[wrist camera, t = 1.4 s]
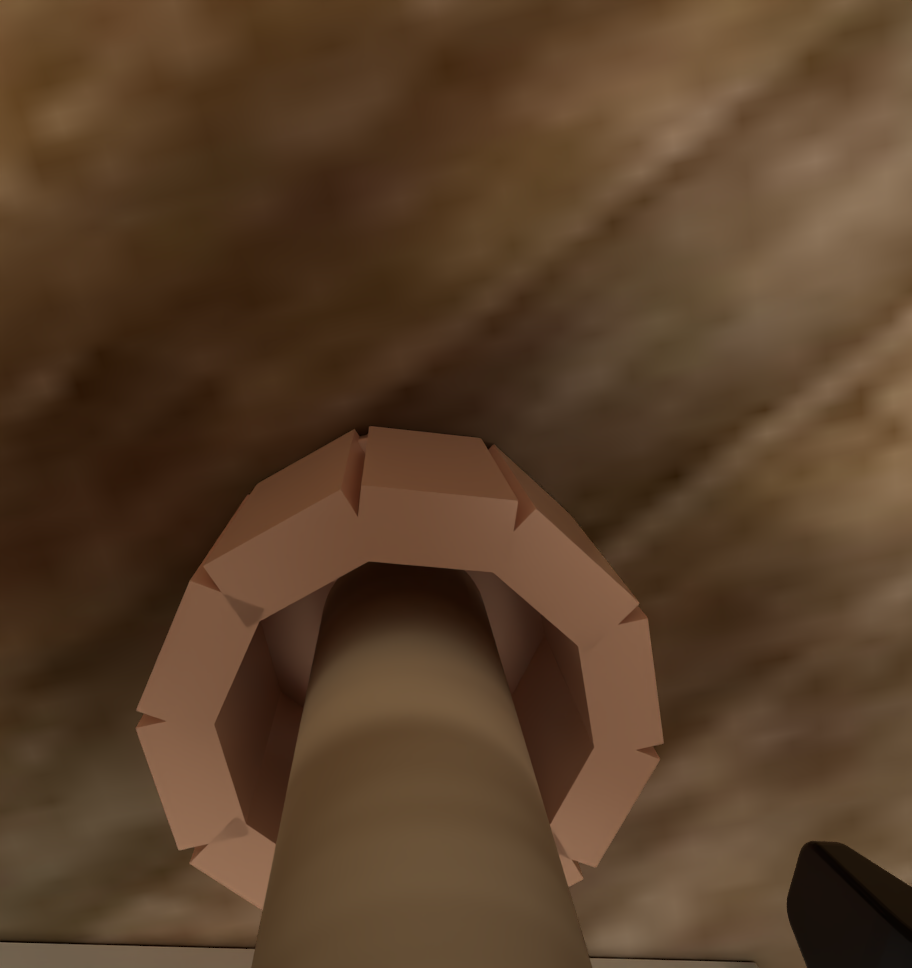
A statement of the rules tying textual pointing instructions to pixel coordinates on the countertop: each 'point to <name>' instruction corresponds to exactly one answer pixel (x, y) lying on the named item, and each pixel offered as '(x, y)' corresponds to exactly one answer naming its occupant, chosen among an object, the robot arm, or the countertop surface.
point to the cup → (410, 541)
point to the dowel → (413, 795)
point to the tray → (220, 958)
